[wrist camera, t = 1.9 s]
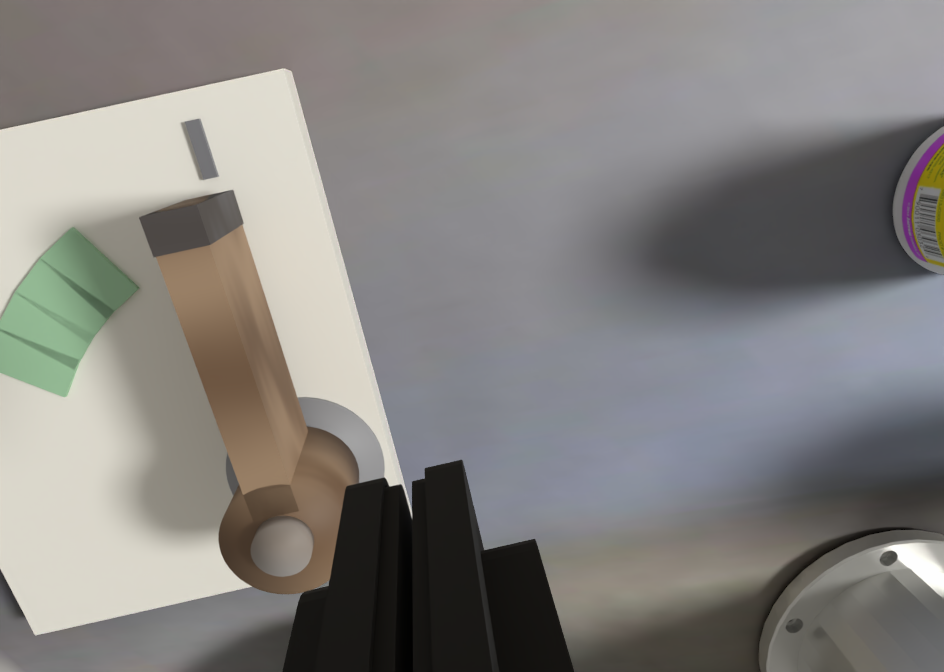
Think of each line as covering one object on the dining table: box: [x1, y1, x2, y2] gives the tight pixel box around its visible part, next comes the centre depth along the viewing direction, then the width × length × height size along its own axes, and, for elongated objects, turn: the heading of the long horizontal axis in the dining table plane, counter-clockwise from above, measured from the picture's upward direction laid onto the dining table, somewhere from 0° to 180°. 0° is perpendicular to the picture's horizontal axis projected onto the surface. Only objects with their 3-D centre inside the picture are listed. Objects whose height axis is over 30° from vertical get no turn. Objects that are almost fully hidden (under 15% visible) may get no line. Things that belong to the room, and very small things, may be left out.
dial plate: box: [0, 68, 412, 635], centre depth 27 cm, size 20×17×2 cm
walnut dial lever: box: [139, 190, 359, 594], centre depth 23 cm, size 14×4×5 cm, turn 12°
